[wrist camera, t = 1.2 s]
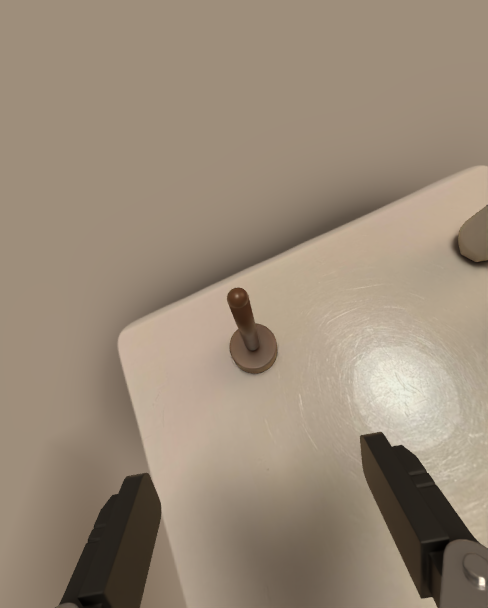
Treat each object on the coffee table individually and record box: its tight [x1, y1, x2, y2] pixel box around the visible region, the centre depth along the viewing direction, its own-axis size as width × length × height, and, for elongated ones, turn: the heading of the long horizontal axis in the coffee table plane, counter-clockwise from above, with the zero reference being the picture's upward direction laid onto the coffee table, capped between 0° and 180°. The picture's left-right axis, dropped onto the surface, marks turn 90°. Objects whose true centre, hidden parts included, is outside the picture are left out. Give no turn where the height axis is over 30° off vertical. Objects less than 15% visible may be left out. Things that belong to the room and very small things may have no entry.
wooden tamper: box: [227, 288, 277, 373], centre depth 28 cm, size 5×5×15 cm
